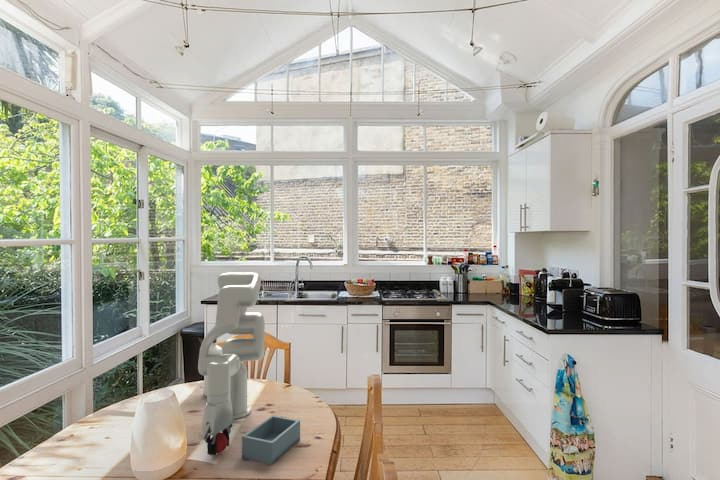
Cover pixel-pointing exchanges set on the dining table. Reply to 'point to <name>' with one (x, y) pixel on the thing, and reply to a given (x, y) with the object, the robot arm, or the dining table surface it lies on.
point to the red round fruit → (220, 442)
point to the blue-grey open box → (270, 439)
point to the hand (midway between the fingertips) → (218, 449)
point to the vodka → (212, 350)
